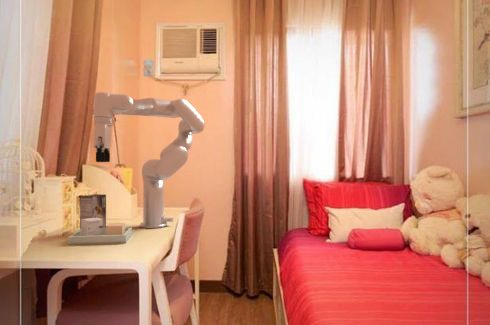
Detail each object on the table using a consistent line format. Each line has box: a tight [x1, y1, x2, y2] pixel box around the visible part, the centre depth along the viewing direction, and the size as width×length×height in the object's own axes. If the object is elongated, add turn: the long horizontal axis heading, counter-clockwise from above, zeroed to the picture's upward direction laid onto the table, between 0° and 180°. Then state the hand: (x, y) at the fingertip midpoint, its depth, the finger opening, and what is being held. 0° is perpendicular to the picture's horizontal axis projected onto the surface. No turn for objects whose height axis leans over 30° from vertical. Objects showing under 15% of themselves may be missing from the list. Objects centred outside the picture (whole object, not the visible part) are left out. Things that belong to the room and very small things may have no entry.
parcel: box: [106, 222, 126, 235], centre depth 127 cm, size 6×6×5 cm
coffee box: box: [79, 193, 107, 230], centre depth 139 cm, size 9×6×16 cm
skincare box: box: [81, 218, 103, 236], centre depth 126 cm, size 6×6×7 cm
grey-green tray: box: [67, 227, 133, 246], centre depth 126 cm, size 20×14×3 cm
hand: (103, 162), depth 138 cm, fingers open, 9 cm apart
